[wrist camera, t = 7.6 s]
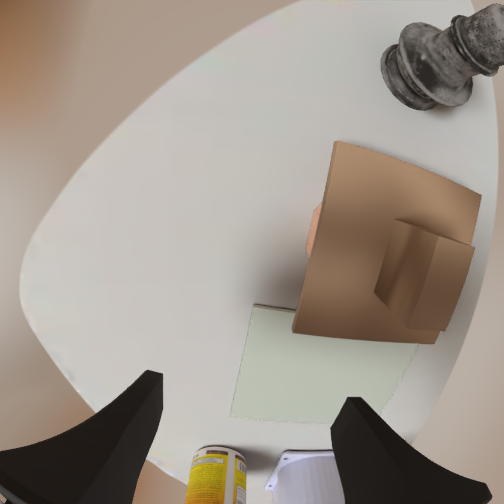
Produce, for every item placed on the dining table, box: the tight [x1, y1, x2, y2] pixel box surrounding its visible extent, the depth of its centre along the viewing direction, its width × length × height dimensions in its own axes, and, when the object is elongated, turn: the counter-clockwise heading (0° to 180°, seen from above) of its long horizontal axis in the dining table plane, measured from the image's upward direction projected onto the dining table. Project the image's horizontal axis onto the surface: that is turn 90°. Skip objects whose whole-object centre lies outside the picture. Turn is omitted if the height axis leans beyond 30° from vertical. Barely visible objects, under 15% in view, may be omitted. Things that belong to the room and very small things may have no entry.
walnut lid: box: [291, 141, 482, 344], centre depth 12 cm, size 10×10×5 cm
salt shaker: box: [381, 4, 504, 111], centre depth 9 cm, size 6×6×12 cm
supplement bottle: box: [185, 447, 246, 504], centre depth 19 cm, size 6×6×10 cm
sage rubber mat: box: [230, 304, 419, 424], centre depth 20 cm, size 11×14×1 cm
